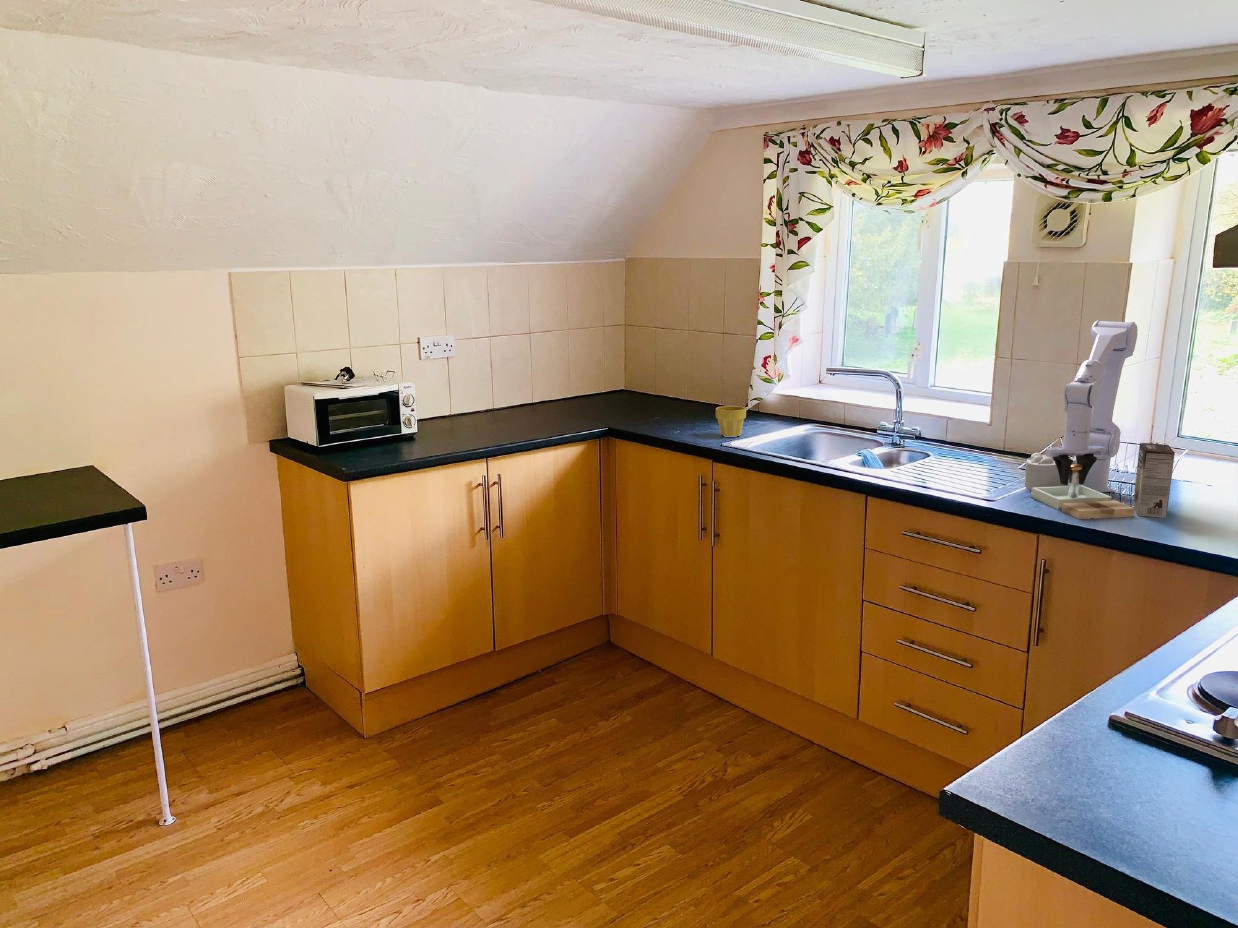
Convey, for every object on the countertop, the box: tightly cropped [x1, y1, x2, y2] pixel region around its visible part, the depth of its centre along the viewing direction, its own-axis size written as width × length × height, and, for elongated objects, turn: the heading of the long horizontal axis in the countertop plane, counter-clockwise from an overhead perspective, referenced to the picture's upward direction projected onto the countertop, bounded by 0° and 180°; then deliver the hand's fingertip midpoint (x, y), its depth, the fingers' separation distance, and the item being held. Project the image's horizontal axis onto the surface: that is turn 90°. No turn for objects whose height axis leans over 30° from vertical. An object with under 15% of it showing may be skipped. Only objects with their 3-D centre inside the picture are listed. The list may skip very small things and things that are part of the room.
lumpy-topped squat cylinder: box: [1024, 451, 1076, 491], centre depth 251 cm, size 10×13×9 cm
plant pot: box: [715, 405, 747, 436], centre depth 323 cm, size 10×10×10 cm
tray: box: [1030, 485, 1113, 510], centre depth 237 cm, size 12×14×2 cm
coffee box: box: [1132, 442, 1176, 519], centre depth 226 cm, size 9×6×16 cm
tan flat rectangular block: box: [1061, 500, 1136, 520], centre depth 227 cm, size 7×14×2 cm, turn 98°
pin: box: [1068, 464, 1083, 498], centre depth 236 cm, size 4×4×8 cm
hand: (1071, 483), depth 237 cm, fingers closed on pin, 4 cm apart
